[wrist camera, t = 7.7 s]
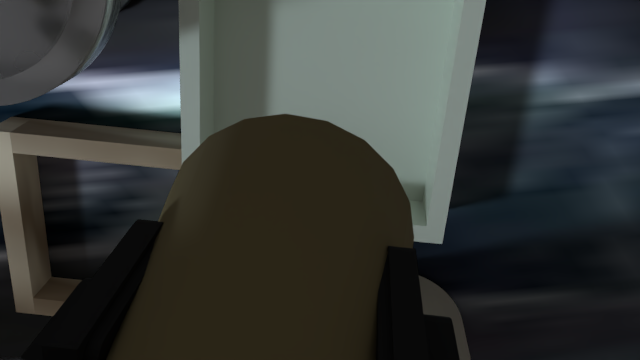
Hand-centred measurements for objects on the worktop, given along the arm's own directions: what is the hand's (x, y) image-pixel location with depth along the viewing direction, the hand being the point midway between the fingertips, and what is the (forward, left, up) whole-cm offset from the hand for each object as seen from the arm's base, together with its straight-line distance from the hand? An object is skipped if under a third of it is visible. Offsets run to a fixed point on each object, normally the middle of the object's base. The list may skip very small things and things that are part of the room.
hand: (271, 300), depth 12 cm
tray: (0, 0, -17) cm, 17 cm away
